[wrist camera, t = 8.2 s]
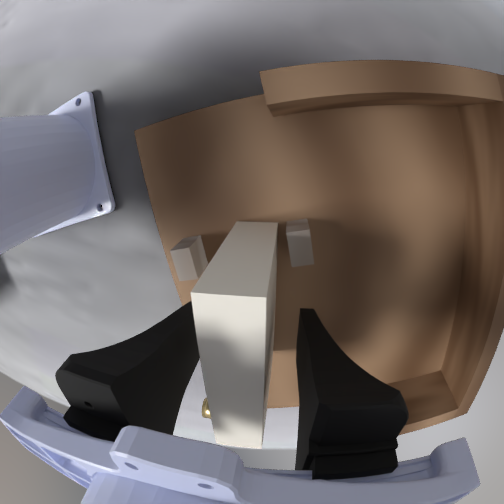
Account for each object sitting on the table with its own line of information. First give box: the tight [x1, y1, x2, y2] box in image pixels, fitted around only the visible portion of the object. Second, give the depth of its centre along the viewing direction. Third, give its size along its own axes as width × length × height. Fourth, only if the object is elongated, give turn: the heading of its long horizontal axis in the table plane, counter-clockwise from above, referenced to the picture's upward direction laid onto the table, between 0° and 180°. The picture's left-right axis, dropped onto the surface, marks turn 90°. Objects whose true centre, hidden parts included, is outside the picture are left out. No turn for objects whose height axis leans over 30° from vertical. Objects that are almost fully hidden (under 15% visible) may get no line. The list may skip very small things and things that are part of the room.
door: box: [191, 221, 278, 449], centre depth 12 cm, size 3×8×7 cm, turn 1°
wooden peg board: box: [134, 60, 504, 435], centre depth 13 cm, size 18×20×5 cm
